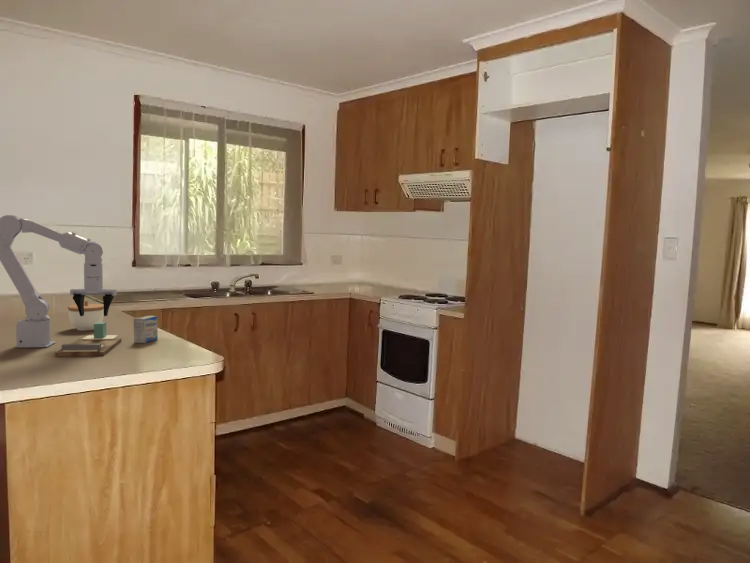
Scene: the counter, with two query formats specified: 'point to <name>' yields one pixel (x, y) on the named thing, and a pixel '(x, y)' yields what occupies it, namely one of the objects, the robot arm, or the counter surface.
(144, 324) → the medicine box
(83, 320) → the lidded bowl
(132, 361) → the counter surface
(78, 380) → the counter surface
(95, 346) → the grey flat block
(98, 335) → the cream plaque with block
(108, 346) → the board
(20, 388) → the counter surface
